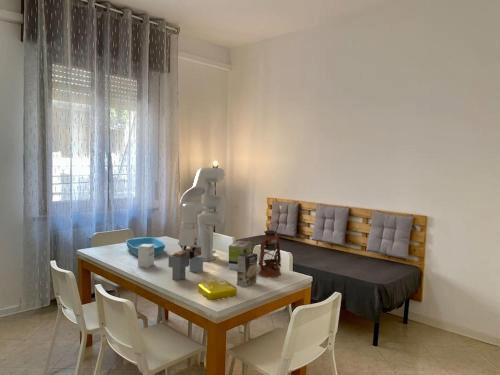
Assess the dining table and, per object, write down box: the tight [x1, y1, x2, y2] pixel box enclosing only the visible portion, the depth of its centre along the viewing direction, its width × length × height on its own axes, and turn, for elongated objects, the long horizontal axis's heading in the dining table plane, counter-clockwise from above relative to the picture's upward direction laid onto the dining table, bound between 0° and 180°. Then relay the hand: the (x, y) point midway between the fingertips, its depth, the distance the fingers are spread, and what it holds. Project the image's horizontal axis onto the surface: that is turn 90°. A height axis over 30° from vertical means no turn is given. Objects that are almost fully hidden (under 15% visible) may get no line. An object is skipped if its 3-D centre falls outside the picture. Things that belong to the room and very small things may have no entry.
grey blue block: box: [189, 256, 204, 274], centre depth 216 cm, size 5×6×8 cm
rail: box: [173, 246, 201, 261], centre depth 209 cm, size 20×4×5 cm, turn 153°
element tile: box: [198, 279, 238, 301], centre depth 181 cm, size 15×15×5 cm
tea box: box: [228, 240, 252, 271], centre depth 227 cm, size 15×10×15 cm
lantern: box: [257, 222, 282, 279], centre depth 213 cm, size 17×13×30 cm
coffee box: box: [236, 252, 258, 288], centre depth 196 cm, size 9×6×16 cm
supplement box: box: [137, 244, 155, 268], centre depth 224 cm, size 7×7×13 cm
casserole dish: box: [125, 236, 166, 257], centre depth 257 cm, size 37×22×7 cm, turn 32°
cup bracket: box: [168, 253, 190, 281], centre depth 201 cm, size 8×8×13 cm
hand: (188, 257), depth 209 cm, fingers closed on rail, 4 cm apart
